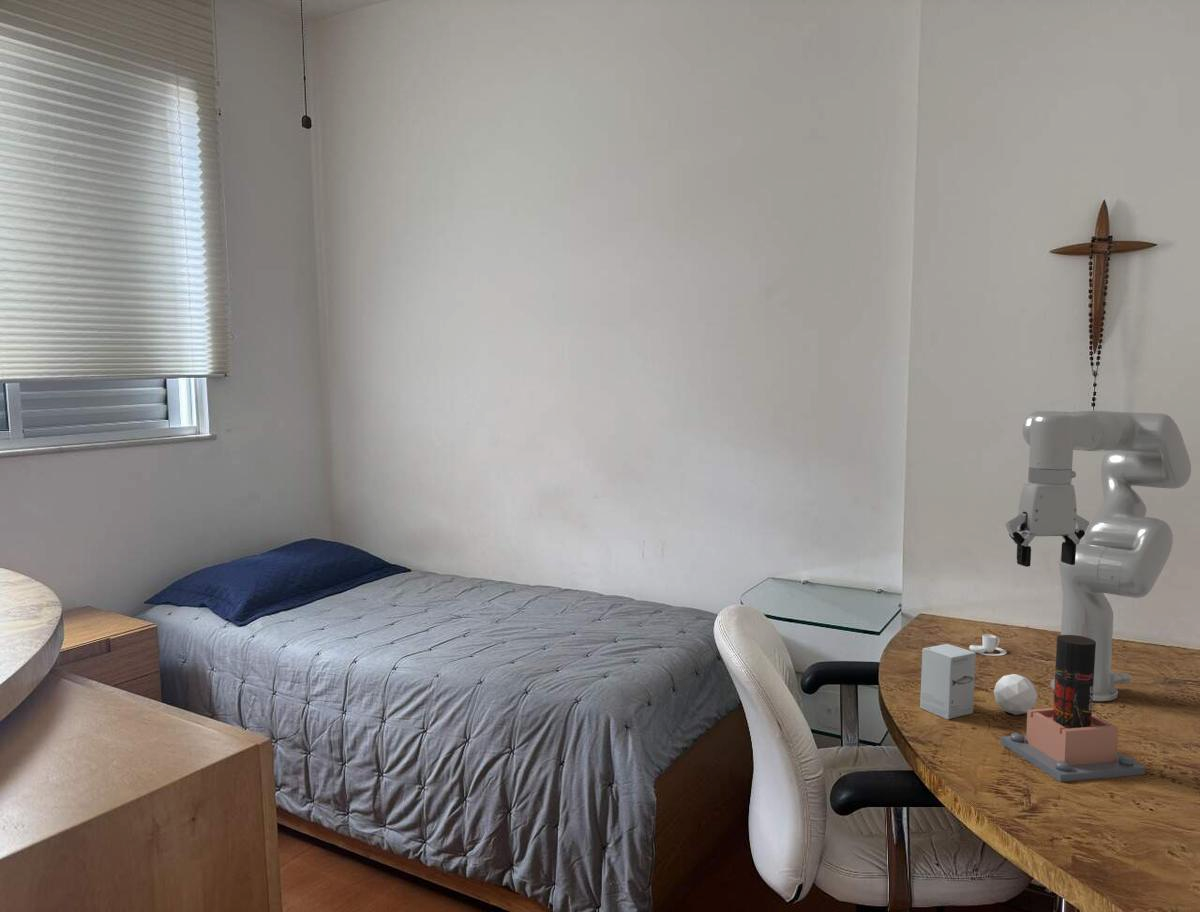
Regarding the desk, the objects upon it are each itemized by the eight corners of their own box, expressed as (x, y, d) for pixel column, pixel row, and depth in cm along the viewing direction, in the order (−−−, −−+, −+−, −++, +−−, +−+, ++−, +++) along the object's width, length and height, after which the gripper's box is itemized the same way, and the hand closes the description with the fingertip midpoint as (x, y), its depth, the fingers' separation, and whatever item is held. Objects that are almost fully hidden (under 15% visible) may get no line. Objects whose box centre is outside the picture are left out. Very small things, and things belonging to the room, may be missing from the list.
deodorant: (1052, 714, 159) (1057, 633, 158) (1090, 720, 156) (1095, 637, 155) (1052, 725, 154) (1057, 641, 153) (1091, 732, 151) (1096, 646, 150)
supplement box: (948, 720, 173) (950, 657, 171) (918, 708, 179) (920, 647, 178) (974, 714, 176) (977, 652, 175) (944, 702, 182) (946, 642, 181)
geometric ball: (1018, 723, 178) (1040, 690, 179) (1025, 723, 171) (1048, 689, 172) (983, 699, 181) (1005, 667, 182) (988, 698, 174) (1011, 664, 175)
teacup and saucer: (970, 656, 214) (971, 639, 214) (965, 646, 222) (965, 630, 221) (1009, 658, 212) (1010, 642, 212) (1002, 648, 220) (1003, 632, 220)
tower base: (1078, 736, 165) (1079, 699, 164) (1145, 774, 149) (1147, 733, 148) (1000, 742, 162) (1002, 704, 161) (1060, 781, 146) (1062, 739, 146)
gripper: (1075, 474, 177) (1071, 559, 178) (997, 476, 174) (994, 562, 175) (1103, 478, 169) (1098, 566, 171) (1022, 480, 166) (1018, 570, 168)
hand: (1045, 564), depth 173 cm, fingers open, 9 cm apart
